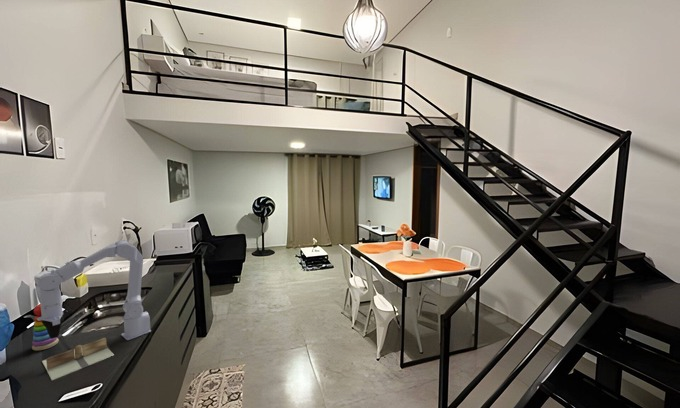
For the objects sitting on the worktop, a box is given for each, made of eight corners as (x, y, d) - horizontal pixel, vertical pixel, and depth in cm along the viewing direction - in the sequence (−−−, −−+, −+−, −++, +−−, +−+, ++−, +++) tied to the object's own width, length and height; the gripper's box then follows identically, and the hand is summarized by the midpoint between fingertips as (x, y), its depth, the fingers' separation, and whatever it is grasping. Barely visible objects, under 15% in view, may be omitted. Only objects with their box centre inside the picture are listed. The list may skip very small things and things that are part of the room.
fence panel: (73, 357, 112) (73, 348, 111) (74, 359, 111) (74, 350, 111) (47, 368, 106) (46, 358, 105) (47, 369, 105) (46, 359, 105)
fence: (105, 347, 120) (104, 335, 120) (107, 348, 119) (106, 337, 119) (74, 358, 112) (73, 346, 112) (76, 360, 111) (75, 348, 111)
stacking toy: (64, 340, 125) (60, 300, 124) (45, 351, 117) (42, 308, 116) (45, 341, 125) (42, 300, 123) (26, 351, 117) (22, 308, 115)
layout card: (101, 340, 125) (101, 339, 125) (115, 355, 115) (115, 354, 115) (42, 361, 110) (42, 360, 110) (52, 381, 100) (52, 380, 100)
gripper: (33, 302, 111) (36, 335, 112) (40, 312, 103) (43, 348, 104) (58, 296, 117) (60, 328, 118) (66, 305, 108) (69, 339, 109)
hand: (54, 336), depth 111 cm, fingers closed
